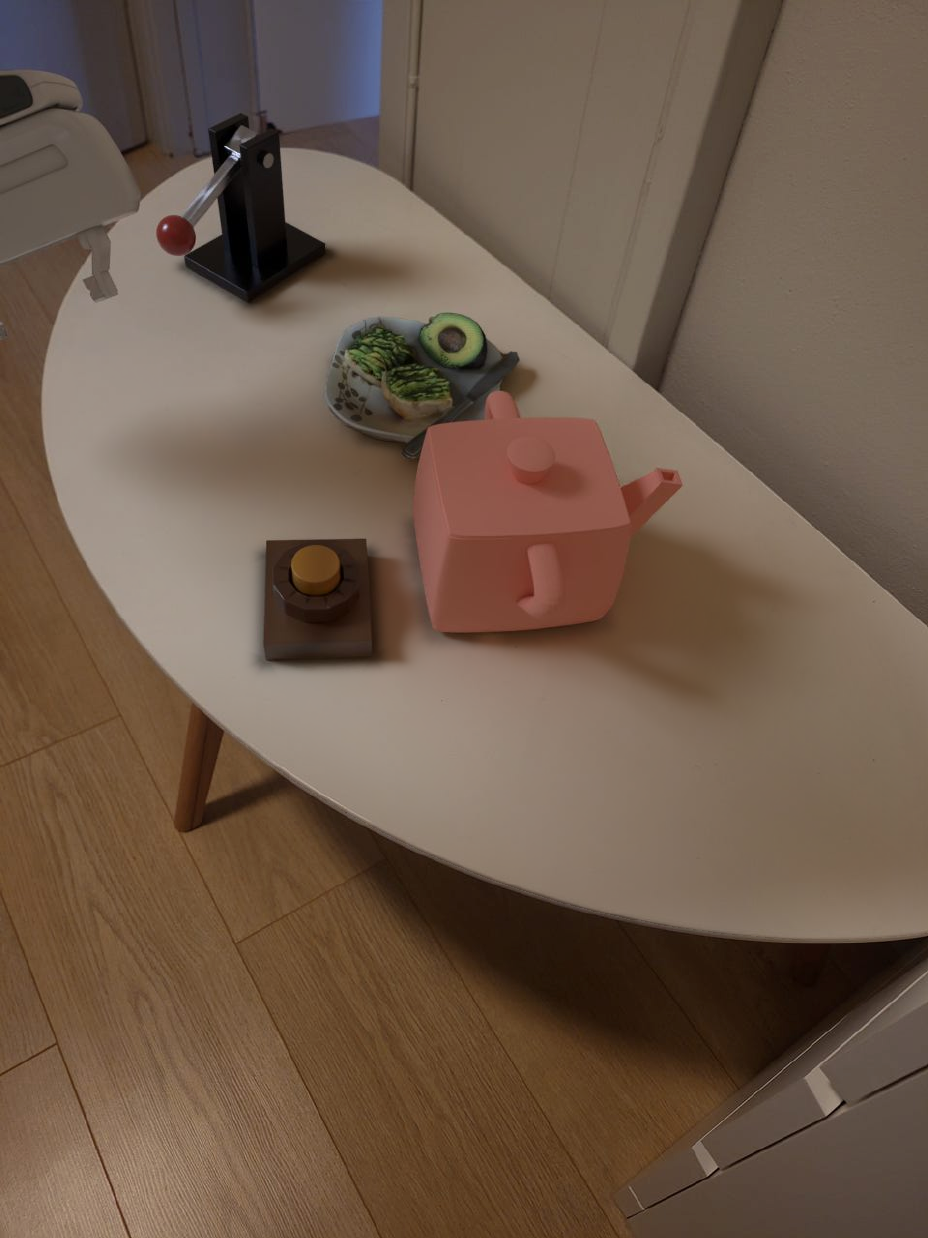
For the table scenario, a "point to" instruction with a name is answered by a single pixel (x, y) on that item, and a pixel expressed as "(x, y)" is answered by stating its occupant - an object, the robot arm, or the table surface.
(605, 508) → the teapot
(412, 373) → the plate of avocado toast
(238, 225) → the bracket
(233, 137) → the lever
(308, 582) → the button
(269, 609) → the button block
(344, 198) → the table surface
